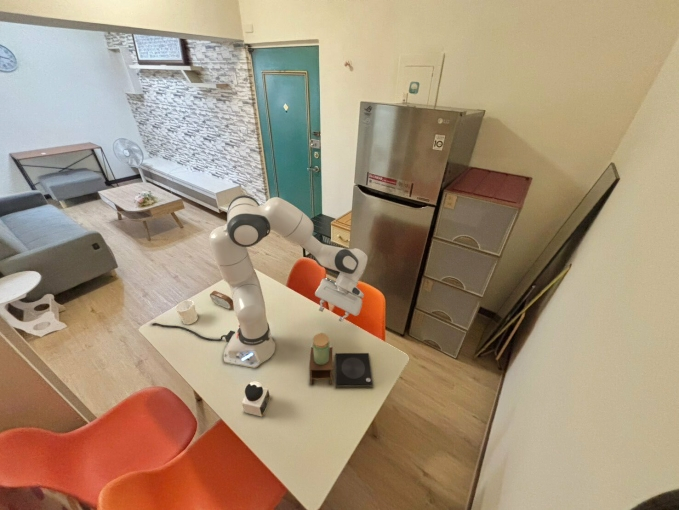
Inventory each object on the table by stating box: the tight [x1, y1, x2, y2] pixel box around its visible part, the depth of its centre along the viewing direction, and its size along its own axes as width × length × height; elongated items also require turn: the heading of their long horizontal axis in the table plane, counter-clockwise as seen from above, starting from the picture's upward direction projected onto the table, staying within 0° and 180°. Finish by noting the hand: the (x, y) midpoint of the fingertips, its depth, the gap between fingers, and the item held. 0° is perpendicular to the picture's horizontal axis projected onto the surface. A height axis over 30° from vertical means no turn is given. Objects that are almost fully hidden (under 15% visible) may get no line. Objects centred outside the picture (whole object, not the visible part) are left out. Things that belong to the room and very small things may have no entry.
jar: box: [312, 332, 331, 365], centre depth 103 cm, size 6×6×11 cm
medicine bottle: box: [241, 380, 271, 417], centre depth 98 cm, size 7×7×12 cm
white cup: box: [175, 299, 199, 325], centre depth 132 cm, size 8×8×10 cm
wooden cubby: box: [308, 346, 334, 385], centre depth 110 cm, size 9×10×11 cm
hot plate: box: [334, 352, 374, 389], centre depth 113 cm, size 15×15×3 cm
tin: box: [209, 290, 234, 310], centre depth 141 cm, size 15×3×8 cm, turn 65°
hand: (330, 316), depth 108 cm, fingers open, 8 cm apart
